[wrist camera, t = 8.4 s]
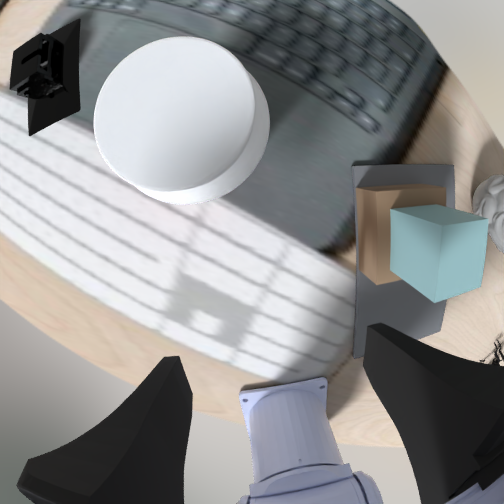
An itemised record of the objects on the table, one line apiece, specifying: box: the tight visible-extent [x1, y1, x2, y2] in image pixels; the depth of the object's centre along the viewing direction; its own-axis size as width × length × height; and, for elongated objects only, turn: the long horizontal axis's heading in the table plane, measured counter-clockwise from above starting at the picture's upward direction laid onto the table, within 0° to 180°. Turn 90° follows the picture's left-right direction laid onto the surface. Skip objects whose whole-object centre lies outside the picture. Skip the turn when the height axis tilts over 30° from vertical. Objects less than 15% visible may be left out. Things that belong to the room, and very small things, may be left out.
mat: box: [351, 164, 455, 359], centre depth 20 cm, size 16×10×1 cm, turn 7°
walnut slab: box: [356, 184, 446, 285], centre depth 17 cm, size 6×6×3 cm
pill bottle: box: [94, 36, 270, 205], centre depth 12 cm, size 6×6×11 cm
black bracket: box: [10, 19, 81, 136], centre depth 12 cm, size 12×7×5 cm, turn 9°
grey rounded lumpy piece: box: [472, 174, 504, 253], centre depth 16 cm, size 6×7×7 cm
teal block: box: [390, 204, 489, 303], centre depth 14 cm, size 4×4×5 cm
